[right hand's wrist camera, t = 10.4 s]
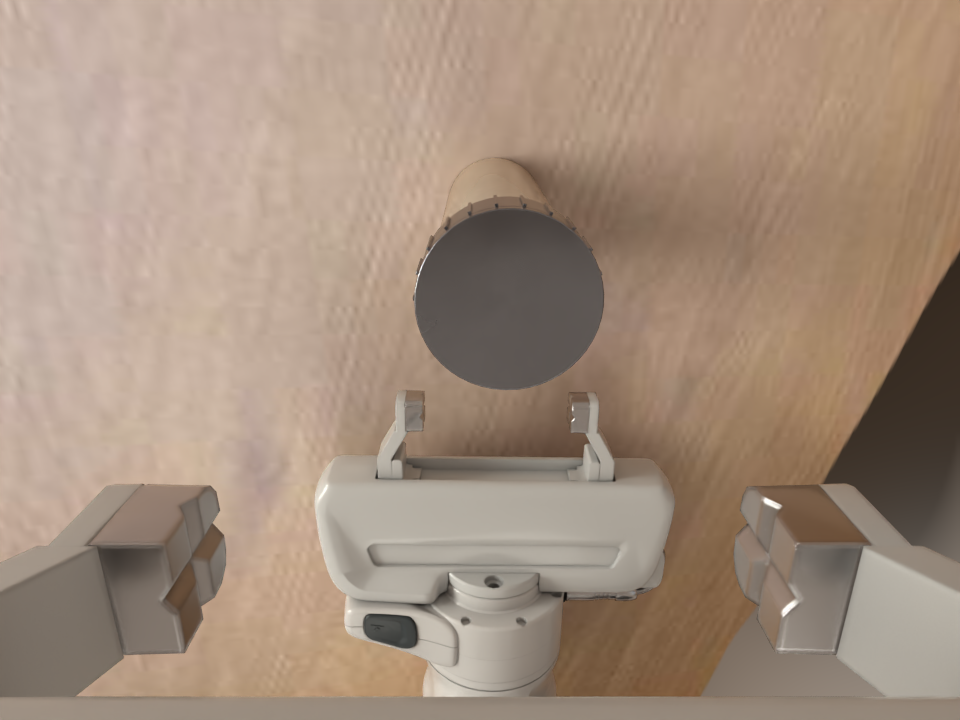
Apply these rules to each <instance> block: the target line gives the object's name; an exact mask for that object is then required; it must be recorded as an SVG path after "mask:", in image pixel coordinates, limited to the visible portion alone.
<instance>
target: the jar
mask: <svg viewBox="0 0 960 720" xmlns="http://www.w3.org/2000/svg"><path fill="white" fill-rule="evenodd" d="M493 195H497V197H506V196H512V197H520V195H523V197H524V198H526V199H531V200H534V201H537V202H540V203H542V204H545V202H546V203H548V201H547V200H546V198H545V196H544V195H543V193H542V191H541V190H540V188H539V187H538V185H537V183H536V182H535V180H534V178H533V177H532V176H531V175H530V173H529V172H528V171H527V170H526V169H524V168H523V167H522V166H520V165H519V164H517V163H515V162H513V161H510V160H507V159H503V158H488V159H483V160H480V161H477V162H475V163H473V164H471V165H469V166H468V167H466V168H465V169H464V170H463V171H462V172H461V173H460V174H459V175H458V176H457V178H456V179H455V181H454V183H453V185H452V187H451V189H450V192H449V196H448V200H447V204H446V208H445V212H444V216H443V220H442V224H441V226H442V225H443V224H444V223H445V221H446V217H448V216H449V217H451V216H452V215H454V214H455V213H456V212H458V211H460V210H461V209H463V208H464V207H466V206H468V203H470V202H471V203H472V204H473V203H475V202H478V201H481V200H484V199H488V198H494V197H493ZM548 204H549V203H548ZM549 206H550V204H549ZM550 208H551V206H550Z"/></svg>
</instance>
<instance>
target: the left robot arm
mask: <svg viewBox="0 0 960 720" xmlns="http://www.w3.org/2000/svg"><path fill="white" fill-rule="evenodd" d="M424 401H425V391H410V390H398V393H397V397H396V406H395V412H396V420H395V421H394V423H393V424H392V426H391V428H390V429H389V431H388V432H387V434H386V436H385V437H384V439H383V441H382V443H381V447H380V451H379V454H378V455H339V456H336V457H335V458H334V459H333V460H332V461H331V462H330V463H329V464H328V466H327V467H326V468H325V469H324V471H323V473H322V475H321V477H320V479H319V482H318V485H317V489H316V493H315V513H316V521H317V528H318V533H319V538H320V543H321V548H322V552H323V556H324V560H325V563H326V567H327V570H328V573H329V575H330V577H331V579H332V581H333V582H334V584H335V585H336V586H337V587H338V589H339V590H341V591H342V592H343V593H344V594H346V595H347V596H346V603H345V617H344V622H345V628H346V631H347V632H348V633H349V634H350V635H351V636H353V637H355V638H358V639H361V640H365V641H369V642H373V643H377V644H381V645H384V646H388V647H391V648H395V649H398V650H401V651H404V652H407V653H410V654H413V655H415V656H418V657H421V658H423V659H425V660H426V661H427V663H428V667H427V670H426V673H425V677H424V683H423V697H556V683H555V678H554V674H553V671H552V670H553V669H554V667H555V664H556V662H557V659H558V656H559V650H560V641H561V628H562V615H563V602H565V600H566V601H568V600H569V601H593V600H602V599H614V600H616V601H630V600H635V599H636V598H637V595H638V594H643V593H645V592H648V591H650V590H652V589H653V588H655V587H657V586H659V584H660V583H661V580H662V577H663V570H664V563H665V551H664V547H665V544H666V541H667V537H668V534H669V530H670V526H671V522H672V518H673V513H674V508H675V497H674V493H673V490H672V487H671V485H670V483H669V481H668V479H667V477H666V475H665V474H664V472H663V471H662V470H661V469H660V467H659V466H658V465H657V464H656V463H655V462H654V461H653V460H651V459H648V458H613V456H612V453H611V450H610V447H609V445H608V442H607V441H606V439H605V437H604V435H603V433H602V432H601V430H600V428H599V426H598V418H599V401H598V398H597V396H596V393H594V392H569V394H568V403H569V406H568V407H567V421H568V423H569V429H570V432H571V433H585V434H586V436H587V438H588V440H589V442H590V443H591V444H586V445H584V454H583V457H492V456H406V443H405V442H402V441H403V439H404V438H405V436H406V434H407V433H408V431H423V427H424V421H425V405H424Z"/></svg>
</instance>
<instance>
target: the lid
mask: <svg viewBox="0 0 960 720" xmlns="http://www.w3.org/2000/svg"><path fill="white" fill-rule="evenodd" d="M493 197H494V198H488V199H484V200H481V201H478V202H475V203H473V204H472V203H471V202H470V203H468V206H466V207H464V208H463V209H461V210H460V211H458V212H456V213H455V214H454V215H452V216H451V217H449V216H448V217H446V221H445V223H444V224H443V225H442V226H441V227H440V228H439V229H438V230H437V232H436V233H435V235H434V236H432V235H431V236H430V238H429V242H428V245H427V248H426V252H425V255H424V258H423V259H420V262H419V265H418V268H417V271H416V275H418V277H417V282H416V286H415V292H414V296H413V301H414V305H415V315H416V319H417V324H418V327H419V330H420V333H421V335H422V337H423V339H424V341H425V343H426V345H427V347H428V348H429V350H430V351H431V352H432V354H433V355H434V356H435V357H436V359H437V360H438V361H439V362H440V363H441V364H442V365H443V366H445V367H446V368H447V369H448V370H449V371H450V372H452V373H454V374H455V375H457V376H458V377H460V378H462V379H464V380H466V381H468V382H470V383H473V384H476V385H479V386H481V387H486V388H491V389H499V390H518V389H524V388H530V387H533V386H537V385H540V384H543V383H545V382H547V381H550V380H552V379H554V378H555V377H557V376H559V375H561V374H562V373H564V372H565V371H566V370H568V369H569V368H570V367H572V366H573V365H574V364H575V363H576V362H577V361H578V360H579V359H580V358H581V356H582V355H583V354H584V353H585V352H586V350H587V349H588V347H589V346H590V344H591V343H592V341H593V339H594V337H595V335H596V333H597V331H598V328H599V325H600V322H601V319H602V313H603V307H604V289H603V281H602V277H601V275H602V272H601V271H600V269H599V267H598V264H597V262H596V259H595V258H594V256H593V254H592V252H591V251H592V250H593V249H592V247H591V246H590V245H589V243H588V242H587V240H586V239H585V238H584V236H583V237H581V236H580V235H579V233H578V232H577V231H576V227H575V226H574V225H573V223H572V222H571V220H570V219H569V218H568V217H566V218H565V217H563V216H562V215H561V214H559V213H558V212H557V211H555V210H554V209H552V208H550V206H549V204H548V203H546V202H545V204H542V203H540V202H537V201H534V200H531V199H526V198H524V197H523V195H520V197H512V196H506V197H497V195H493Z"/></svg>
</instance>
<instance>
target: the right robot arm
mask: <svg viewBox="0 0 960 720" xmlns="http://www.w3.org/2000/svg"><path fill="white" fill-rule="evenodd" d="M219 511H220V508H219V503H218V498H217V493H216V491H215V490H214V489H213V488H212V487H211V486H208V485H157V484H147V485H144V484H114V485H109V486H106V487H105V488H104V489H103V490H102V491H101V492H100V493H99V494H98V495H97V496H96V497H95V498H94V499H93V501H92V502H91V503H90V504H89V505H88V506H87V507H86V508H85V509H84V510H83V511H82V512H81V513H80V514H79V515H78V516H77V517H76V518H75V519H74V520H73V521H72V522H71V523H70V524H69V525H68V526H67V527H66V528H65V529H64V530H63V531H62V532H61V533H60V534H59V535H58V536H57V537H56V538H55V539H54V540H53V541H52V543H51V544H50V545H49V546H36V547H34V548H32V549H30V550H27V551H25V552H23V553H21V554H18V555H16V556H14V557H12V558H10V559H7V560H5V561H3V562H1V563H0V720H960V563H959V562H957V561H955V560H953V559H950V558H948V557H946V556H944V555H942V554H939V553H937V552H935V551H933V550H930V549H928V548H926V547H924V546H911V545H910V543H909V542H908V541H907V540H906V539H905V538H904V537H903V536H902V535H901V534H900V533H899V532H898V531H897V530H896V529H895V528H894V527H893V526H892V525H891V524H890V523H889V522H888V521H887V520H886V519H885V518H884V517H883V516H882V515H881V514H880V513H879V512H878V511H877V510H876V509H875V508H874V507H873V505H871V503H870V502H869V501H868V500H867V499H866V498H865V497H864V496H863V495H862V494H861V493H860V492H859V491H858V490H857V489H856V488H855V487H853V486H851V485H848V484H822V485H787V486H752V487H747V488H746V490H745V492H744V494H743V496H742V502H741V508H740V511H741V513H742V514H743V516H744V518H745V519H746V521H747V524H746V525H745V526H744V527H743V529H742V530H741V531H740V532H739V533H738V534H737V535H736V539H735V547H734V564H735V573H736V576H737V580H738V583H739V586H740V588H741V590H742V592H743V594H744V596H745V597H746V598H747V599H749V600H750V601H752V602H753V603H755V604H756V605H758V606H759V609H758V615H757V620H758V622H759V624H760V626H761V628H762V629H763V631H764V633H765V635H766V637H767V639H768V640H769V642H770V644H771V646H772V648H773V650H774V651H775V653H787V654H823V655H837V656H836V658H837V659H839V660H840V661H841V662H842V663H844V664H845V665H846V666H847V667H849V668H850V669H851V670H853V671H854V672H855V673H856V674H858V675H859V676H860V677H861V678H863V679H864V680H865V681H866V682H868V683H869V684H870V685H871V686H873V687H874V688H875V689H876V690H878V691H879V692H880V693H882V694H883V695H884V696H885V697H75V696H76V695H77V694H79V693H80V692H81V691H83V690H84V689H85V688H86V687H88V686H89V685H90V684H91V683H93V682H94V681H95V680H96V679H98V678H99V677H100V676H102V675H103V674H104V673H105V672H107V671H108V670H109V669H110V668H112V667H113V666H114V665H115V664H117V663H118V662H119V661H120V660H122V659H123V658H124V656H123V655H136V654H171V653H185V652H186V650H187V648H188V646H189V644H190V642H191V641H192V639H193V637H194V635H195V633H196V631H197V629H198V628H199V626H200V624H201V622H202V620H203V615H202V609H201V606H202V605H204V604H205V603H207V602H208V601H210V600H211V599H213V598H214V597H215V596H216V594H217V592H218V590H219V588H220V586H221V584H222V580H223V575H224V571H225V566H226V545H225V538H224V535H223V534H222V533H221V532H220V531H219V530H218V529H217V527H216V526H215V525H214V524H213V521H214V519H215V518H216V516H217V515H218V513H219Z"/></svg>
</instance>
